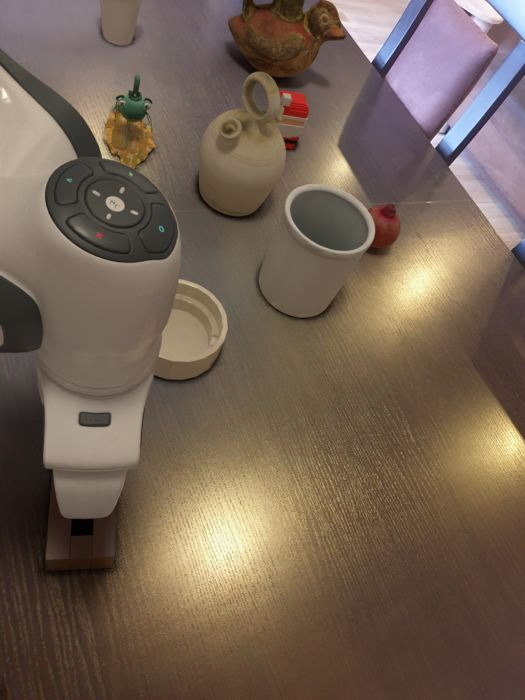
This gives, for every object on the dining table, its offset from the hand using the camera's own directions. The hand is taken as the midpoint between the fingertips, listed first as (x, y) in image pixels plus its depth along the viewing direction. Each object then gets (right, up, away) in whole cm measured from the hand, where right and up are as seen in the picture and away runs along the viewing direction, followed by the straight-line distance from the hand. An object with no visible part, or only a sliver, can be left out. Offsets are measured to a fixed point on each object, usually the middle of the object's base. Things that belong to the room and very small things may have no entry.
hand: (88, 428), depth 54 cm
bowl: (+3, +9, +34) cm, 35 cm away
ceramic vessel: (+19, +74, +81) cm, 112 cm away
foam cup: (-15, +76, +70) cm, 105 cm away
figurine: (+20, +53, +68) cm, 88 cm away
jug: (+10, +37, +55) cm, 67 cm away
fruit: (+38, +29, +59) cm, 76 cm away
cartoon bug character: (-9, +48, +55) cm, 73 cm away
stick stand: (-6, -13, +17) cm, 22 cm away
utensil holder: (+22, +19, +47) cm, 55 cm away
